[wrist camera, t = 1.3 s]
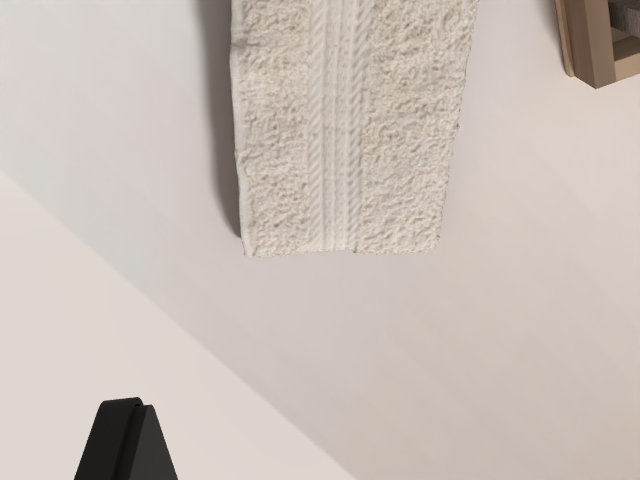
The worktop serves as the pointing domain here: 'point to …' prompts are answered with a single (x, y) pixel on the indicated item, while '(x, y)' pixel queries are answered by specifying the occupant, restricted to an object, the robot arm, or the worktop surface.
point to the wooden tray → (595, 43)
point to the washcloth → (345, 121)
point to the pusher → (625, 16)
